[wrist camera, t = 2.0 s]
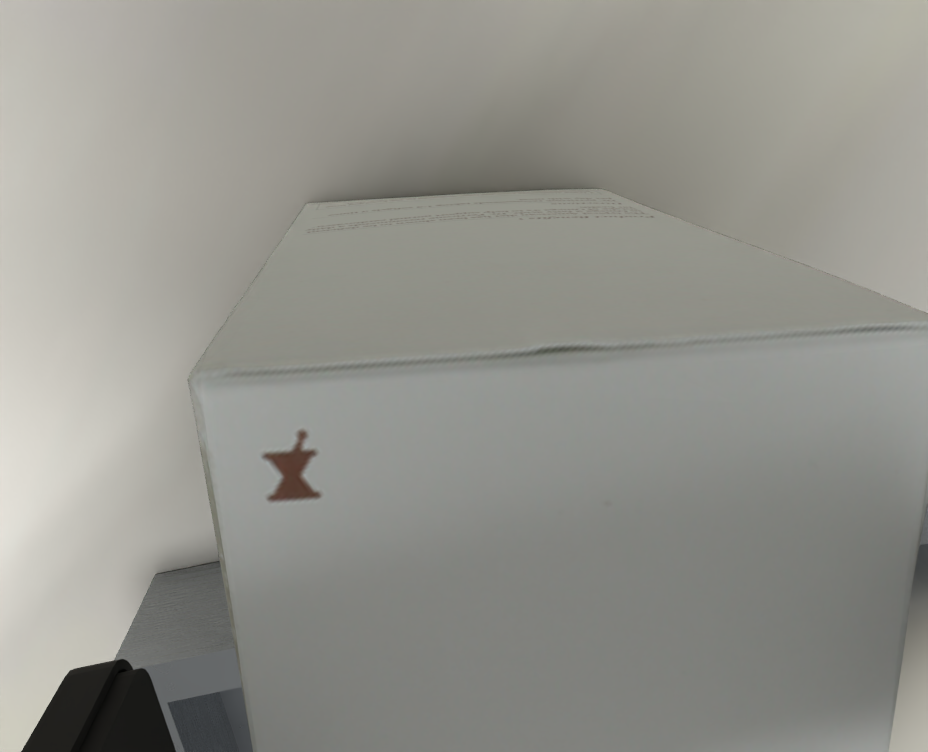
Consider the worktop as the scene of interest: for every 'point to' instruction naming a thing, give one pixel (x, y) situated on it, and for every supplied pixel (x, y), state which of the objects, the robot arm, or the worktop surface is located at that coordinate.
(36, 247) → the worktop surface
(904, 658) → the white rounded cylinder
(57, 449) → the worktop surface
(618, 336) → the supplement box
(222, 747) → the divided grey tray
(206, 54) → the worktop surface
